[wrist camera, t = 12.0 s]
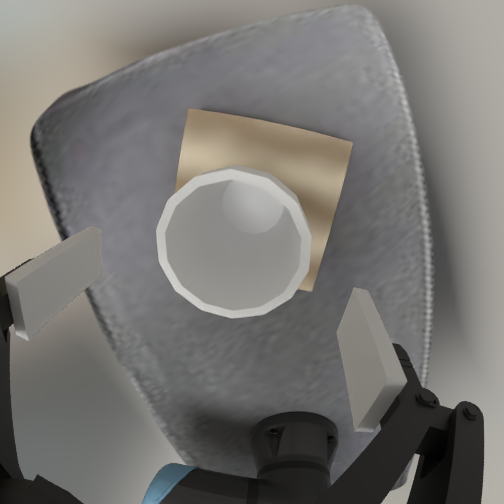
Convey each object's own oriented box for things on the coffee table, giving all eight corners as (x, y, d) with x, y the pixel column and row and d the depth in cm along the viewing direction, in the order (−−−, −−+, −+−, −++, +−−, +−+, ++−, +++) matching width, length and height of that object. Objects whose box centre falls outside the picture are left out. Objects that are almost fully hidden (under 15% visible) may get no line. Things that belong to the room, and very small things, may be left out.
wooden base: (309, 275, 37) (311, 291, 34) (178, 245, 38) (166, 258, 34) (345, 141, 31) (353, 142, 28) (199, 110, 32) (188, 108, 28)
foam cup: (316, 228, 31) (332, 289, 19) (232, 261, 33) (202, 334, 21) (276, 138, 28) (269, 141, 16) (190, 179, 31) (131, 210, 19)
